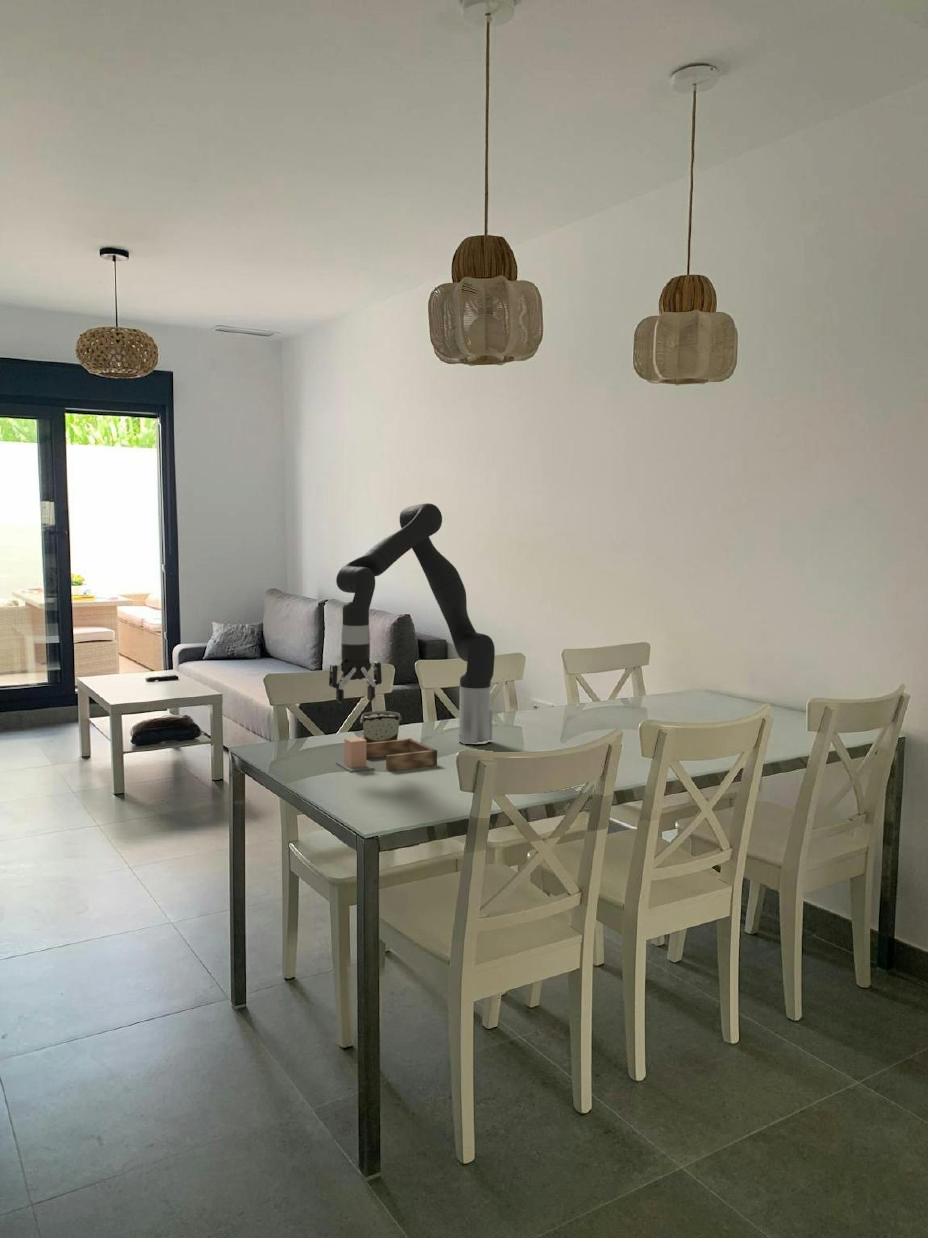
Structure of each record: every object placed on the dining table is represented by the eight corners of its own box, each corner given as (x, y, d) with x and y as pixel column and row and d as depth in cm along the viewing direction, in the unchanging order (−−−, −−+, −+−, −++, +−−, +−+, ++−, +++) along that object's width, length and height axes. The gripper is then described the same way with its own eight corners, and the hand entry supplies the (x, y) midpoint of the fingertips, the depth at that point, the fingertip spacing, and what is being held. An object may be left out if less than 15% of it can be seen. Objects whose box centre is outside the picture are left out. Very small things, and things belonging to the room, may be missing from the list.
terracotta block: (359, 762, 263) (359, 737, 262) (366, 766, 259) (366, 740, 259) (344, 764, 261) (344, 738, 260) (350, 767, 257) (350, 742, 256)
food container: (395, 742, 289) (395, 709, 288) (401, 747, 283) (401, 713, 282) (355, 745, 285) (355, 712, 284) (360, 750, 279) (360, 716, 278)
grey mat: (359, 761, 266) (359, 759, 266) (374, 769, 257) (374, 767, 257) (335, 763, 263) (335, 762, 263) (350, 772, 254) (350, 770, 254)
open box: (410, 752, 277) (410, 738, 277) (437, 765, 263) (437, 750, 263) (363, 757, 270) (363, 743, 270) (388, 771, 256) (388, 756, 255)
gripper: (374, 638, 263) (374, 697, 265) (325, 641, 256) (325, 701, 258) (386, 641, 257) (385, 701, 258) (336, 644, 250) (336, 706, 251)
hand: (355, 701), depth 258 cm, fingers open, 8 cm apart
